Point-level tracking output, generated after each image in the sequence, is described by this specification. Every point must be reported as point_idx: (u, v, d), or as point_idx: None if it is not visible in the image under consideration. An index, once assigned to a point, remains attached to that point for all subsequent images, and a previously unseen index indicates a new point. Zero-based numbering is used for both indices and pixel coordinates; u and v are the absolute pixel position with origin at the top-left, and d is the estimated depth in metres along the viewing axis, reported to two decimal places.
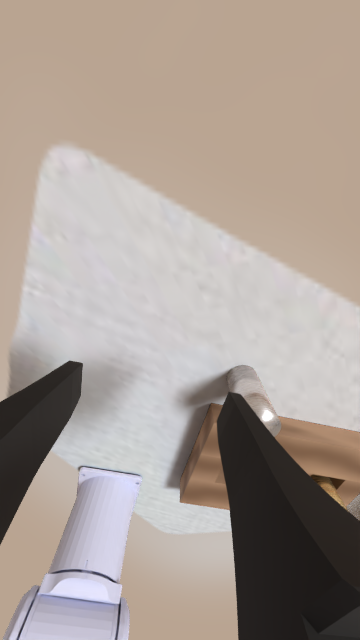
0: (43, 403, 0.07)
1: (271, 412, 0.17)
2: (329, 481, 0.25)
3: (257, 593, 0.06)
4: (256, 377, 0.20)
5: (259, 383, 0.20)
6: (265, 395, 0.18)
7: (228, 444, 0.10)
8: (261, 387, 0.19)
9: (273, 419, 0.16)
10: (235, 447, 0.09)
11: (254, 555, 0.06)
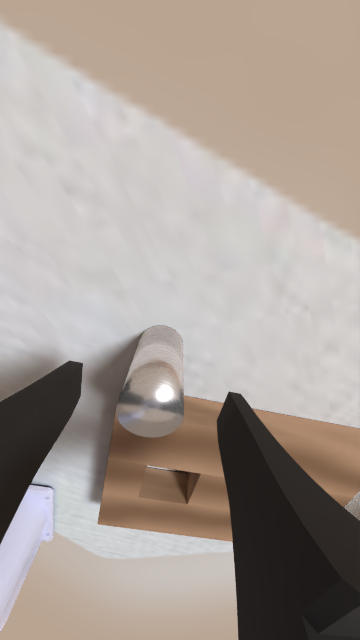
0: (43, 403, 0.07)
1: (164, 385, 0.09)
2: None
3: (258, 593, 0.06)
4: (172, 339, 0.13)
5: (172, 347, 0.13)
6: (171, 362, 0.11)
7: (228, 444, 0.10)
8: (172, 351, 0.12)
9: (166, 398, 0.09)
10: (235, 447, 0.09)
11: (254, 555, 0.06)
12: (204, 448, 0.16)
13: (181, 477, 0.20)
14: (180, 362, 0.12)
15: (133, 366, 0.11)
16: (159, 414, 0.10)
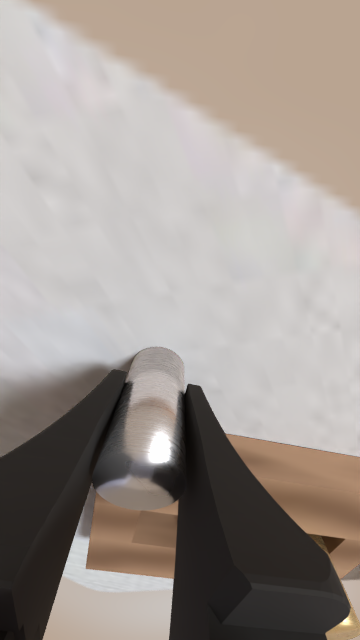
0: (104, 414, 0.07)
1: (159, 447, 0.07)
2: (319, 541, 0.15)
3: (185, 585, 0.06)
4: (171, 367, 0.11)
5: (170, 378, 0.10)
6: (169, 403, 0.09)
7: None
8: (170, 386, 0.09)
9: (161, 466, 0.07)
10: (186, 439, 0.09)
11: (187, 546, 0.06)
12: None
13: None
14: (181, 400, 0.09)
15: (118, 409, 0.09)
16: (152, 485, 0.07)
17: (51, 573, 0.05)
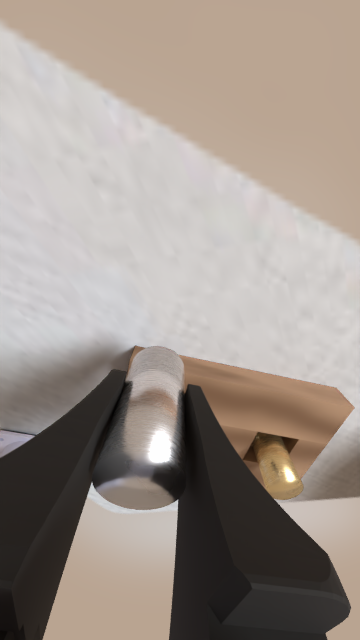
0: (104, 414, 0.07)
1: (159, 446, 0.07)
2: (280, 441, 0.21)
3: (185, 585, 0.06)
4: (171, 367, 0.11)
5: (170, 378, 0.10)
6: (169, 403, 0.09)
7: None
8: (170, 386, 0.09)
9: (161, 465, 0.07)
10: (186, 439, 0.09)
11: (187, 546, 0.06)
12: None
13: None
14: (181, 399, 0.09)
15: (119, 408, 0.09)
16: (152, 484, 0.07)
17: (51, 573, 0.05)
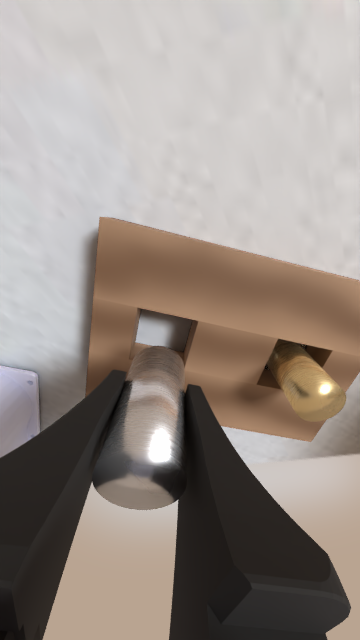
0: (104, 414, 0.07)
1: (157, 445, 0.07)
2: (307, 354, 0.16)
3: (185, 585, 0.06)
4: (170, 366, 0.11)
5: (170, 377, 0.10)
6: (169, 402, 0.09)
7: None
8: (169, 385, 0.09)
9: (160, 464, 0.07)
10: (186, 439, 0.09)
11: (187, 546, 0.06)
12: (202, 280, 0.14)
13: (177, 353, 0.18)
14: (181, 398, 0.09)
15: (118, 408, 0.09)
16: (152, 484, 0.07)
17: (51, 573, 0.05)
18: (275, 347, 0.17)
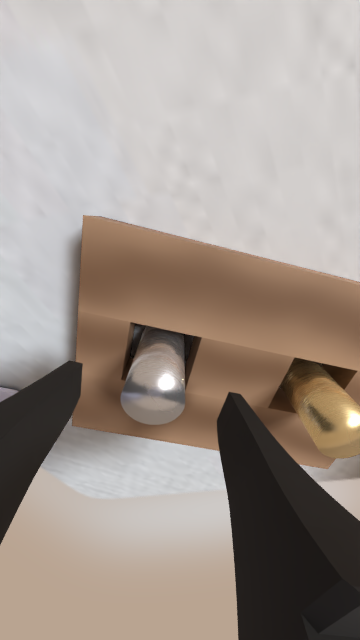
0: (43, 403, 0.07)
1: (165, 374, 0.10)
2: (327, 374, 0.14)
3: (257, 593, 0.06)
4: (173, 333, 0.14)
5: (173, 339, 0.13)
6: (172, 353, 0.12)
7: (228, 444, 0.10)
8: (173, 344, 0.13)
9: (167, 386, 0.10)
10: (235, 447, 0.09)
11: (254, 555, 0.06)
12: (207, 290, 0.12)
13: None
14: (181, 353, 0.13)
15: (135, 358, 0.12)
16: (161, 402, 0.10)
17: None
18: None
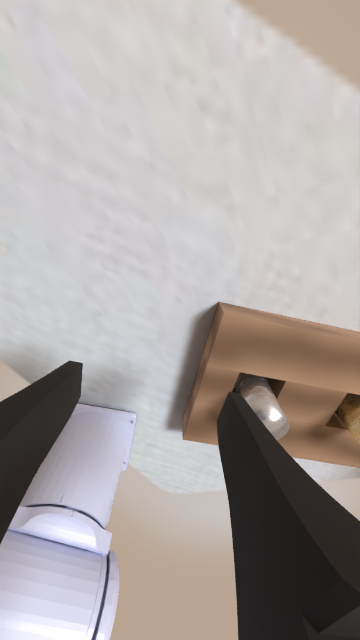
0: (43, 403, 0.07)
1: (278, 412, 0.16)
2: None
3: (258, 593, 0.06)
4: None
5: (265, 382, 0.19)
6: (271, 394, 0.18)
7: (228, 444, 0.10)
8: (267, 386, 0.19)
9: (280, 419, 0.16)
10: (235, 447, 0.09)
11: (254, 555, 0.06)
12: (294, 353, 0.18)
13: None
14: None
15: (247, 398, 0.18)
16: (274, 428, 0.16)
17: None
18: None
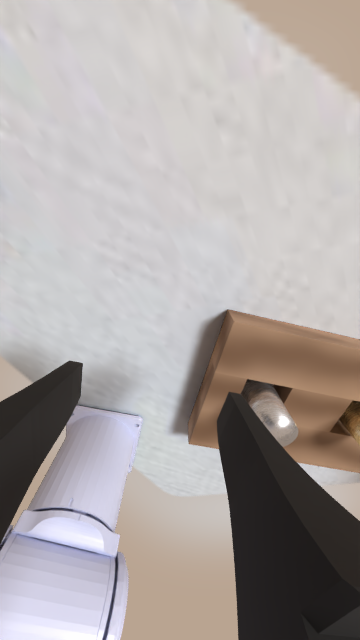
0: (43, 403, 0.07)
1: (287, 418, 0.16)
2: None
3: (257, 593, 0.06)
4: None
5: (272, 388, 0.20)
6: (279, 400, 0.18)
7: (228, 444, 0.10)
8: (274, 392, 0.19)
9: (289, 425, 0.16)
10: (235, 447, 0.09)
11: (254, 555, 0.06)
12: (301, 361, 0.18)
13: None
14: None
15: (256, 404, 0.18)
16: (283, 434, 0.17)
17: None
18: None
